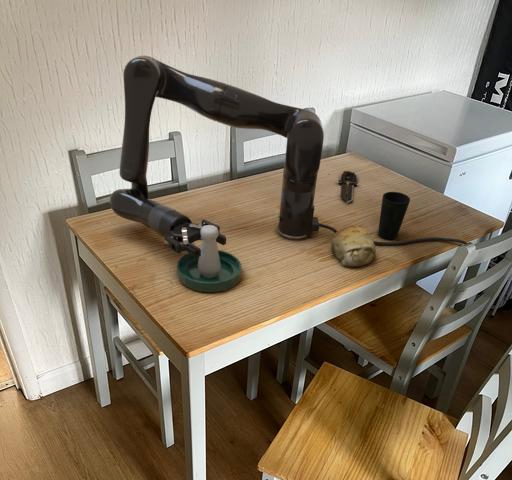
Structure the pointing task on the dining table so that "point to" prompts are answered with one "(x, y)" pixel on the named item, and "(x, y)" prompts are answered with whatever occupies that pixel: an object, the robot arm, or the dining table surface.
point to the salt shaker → (209, 252)
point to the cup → (392, 214)
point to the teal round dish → (196, 281)
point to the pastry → (353, 246)
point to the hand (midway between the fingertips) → (212, 247)
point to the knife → (350, 185)
